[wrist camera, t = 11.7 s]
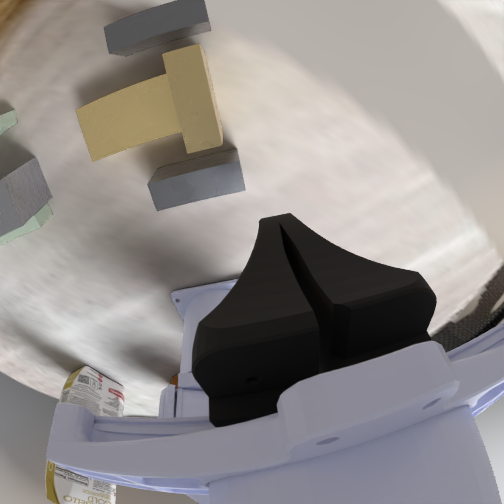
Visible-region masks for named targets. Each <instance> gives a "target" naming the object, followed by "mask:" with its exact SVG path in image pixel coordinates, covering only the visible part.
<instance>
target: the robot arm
mask: <svg viewBox="0 0 504 504" xmlns="http://www.w3.org/2000/svg"><path fill="white" fill-rule="evenodd" d="M171 298H172V300H173V302H174V304H175V306H176V308H177V310H178V312H179V314H180V315H181V317H182V319H183V321H184V328H183V339H182V351H181V364H180V373H179V374H178V389H176V385H172V384H169V385H168V386H167V388H165V389H164V390H162V392H161V397H160V404H159V417H158V418H132V417H111V416H98V415H94V414H93V413H92V412H91V411H90V410H88V409H87V408H85V407H83V406H81V405H77V404H68V403H60V402H59V403H57V406H56V410H55V414H54V419H53V423H52V427H51V432H50V437H49V442H48V448H47V454H46V458H47V460H49V461H51V462H53V463H55V464H57V465H59V466H61V467H64V468H66V469H68V470H70V471H73V472H75V473H78V474H80V475H83V476H85V477H88V478H91V479H95V480H99V481H104V482H108V483H113V484H118V485H123V486H128V487H134V488H140V489H147V490H154V491H161V492H172V493H183V494H186V495H188V496H189V497H191V498H192V499H194V500H195V501H197V504H502V503H501V499H500V495H499V491H498V487H497V484H496V480H495V476H494V473H493V470H492V467H491V464H490V461H489V458H488V455H487V452H486V449H485V446H484V443H483V441H482V438H481V436H480V433H479V430H478V428H477V425H476V423H475V421H474V418H473V417H475V416H476V415H478V414H479V413H481V412H482V411H484V410H485V409H486V408H487V407H489V406H490V405H492V404H493V403H494V402H496V401H497V400H498V399H500V398H501V397H502V396H503V395H504V322H503V323H501V324H500V325H498V326H496V327H495V328H493V329H491V330H489V331H488V332H486V333H484V334H482V335H481V336H479V337H477V338H475V339H473V340H471V341H469V342H468V343H466V344H464V345H462V346H460V347H458V348H456V349H454V350H452V351H450V352H447V353H446V352H445V351H444V349H443V347H442V345H440V344H438V343H437V342H435V341H431V337H430V336H429V334H428V332H427V328H428V326H429V324H430V321H431V319H432V316H433V314H434V311H435V307H436V303H437V301H436V295H435V294H434V292H433V291H432V289H431V288H430V286H429V285H428V283H427V282H426V281H425V279H424V278H423V277H422V276H421V275H420V274H419V272H415V271H410V270H405V269H400V268H395V267H391V266H387V265H384V264H380V263H377V262H374V261H371V260H368V259H366V258H363V257H360V256H358V255H355V254H353V253H351V252H348V251H346V250H344V249H342V248H340V247H338V246H336V245H335V244H333V243H331V242H329V241H328V240H326V239H325V238H323V237H321V236H320V235H318V234H317V233H315V232H314V231H313V230H311V229H310V228H309V227H307V226H306V225H305V224H303V223H302V222H301V221H300V220H298V219H297V218H296V217H295V216H293V215H292V214H291V213H287V214H282V215H277V216H272V217H267V218H262V219H261V220H260V221H259V230H258V235H257V239H256V242H255V245H254V248H253V251H252V253H251V256H250V258H249V260H248V263H247V265H246V267H245V268H244V270H243V272H242V274H241V276H240V277H239V279H235V280H229V281H224V282H219V283H214V284H209V285H203V286H198V287H193V288H187V289H182V290H177V291H173V292H172V293H171ZM177 299H180V300H177Z"/></svg>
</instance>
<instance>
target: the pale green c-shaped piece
mask: <svg viewBox="0 0 504 504" xmlns="http://www.w3.org/2000/svg"><path fill="white" fill-rule="evenodd" d="M17 122H18V120H17V117H16V113H15V110H13V111H10V112H7V113H5V114H2V115H0V135H1V134H3V133H4V132H5V131H7V130H8V129H9V128H10V127H12V126H13V125H15V124H16V123H17ZM52 214H53V213H52V211H51V209H50V206H49V204H48V202H47V203H46V204H45V205H44V206H43V207H41V208H40V209H39V210H38V211H37V212H36V213H35V214H34V215H33V216H32V217H31V219H30V220H29V221H28V222H27V223H26V224H25V225H24V226H22V227H20V228H18V229H15V230H13V231H11V232H9V233H7V234H5V235H3V236H1V237H0V245H2V244H4V243H6V242H8V241H11V240H13V239H15V238H17V237H20V236H22V235H24V234H27V233H29V232H31V231H34V230H36V229H39V228H41V226H42V225H43V224H44V223H45V222H46V221H47V220H48V219H49V218H50V217H51V215H52Z"/></svg>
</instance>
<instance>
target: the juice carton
mask: <svg viewBox="0 0 504 504" xmlns="http://www.w3.org/2000/svg"><path fill="white" fill-rule="evenodd" d="M59 402H60V403H68V404H77V405H81V406H83V407H85V408H87V409H88V410H90V411H91V412H92V413H93V414H94V415H98V416H111V417H123V409H124V387H122V386H121V385H119V384H117V383H115V382H114V381H112V380H110V379H108V378H106V377H105V376H103V375H101V374H100V373H98V372H97V371H95V370H93V369H92V368H90V367H88V366H84V367H82V368H80V369H79V370H77V371H75V372H73V373H72V374H71V375H70V376H69V377H68V379H67V381H66V383H65V385H64V387H63V390H62V393H61V397H60V400H59ZM45 485H46V495H47V498H48V499H49V500H51V501H52V502H54V503H56V504H115V494H116V484H113V483H108V482H104V481H99V480H95V479H91V478H88V477H85V476H83V475H80V474H78V473H75V472H73V471H70V470H68V469H66V468H64V467H61V466H59V465H57V464H55V463H53V462H51V461H49V460H47V465H46V475H45Z"/></svg>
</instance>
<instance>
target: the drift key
mask: <svg viewBox="0 0 504 504" xmlns="http://www.w3.org/2000/svg"><path fill="white" fill-rule="evenodd" d="M162 57H163V61H164V65H165V70H166V74H163V75H160V76H157V77H154V78H151V79H148V80H145V81H142V82H139V83H137V84H134V85H131V86H129V87H126V88H124V89H121V90H119V91H116V92H114V93H111V94H109V95H107V96H104V97H102V98H100V99H98V100H95V101H93V102H91V103H89V104H87V105H85V106H83V107H81V108H79V109H77V110H76V112H77V116H78V119H79V122H80V126H81V129H82V132H83V135H84V138H85V141H86V144H87V147H88V150H89V153H90V156H91V159H92V161H93V162H94V161H96V160H99V159H101V158H104V157H107V156H109V155H112V154H115V153H117V152H120V151H123V150H126V149H128V148H131V147H134V146H137V145H140V144H143V143H146V142H149V141H152V140H156V139H159V138H162V137H165V136H169V135H172V134H176V133H179V132H182V136H183V140H184V143H185V147H186V151H187V154H189V153H193V152H197V151H201V150H205V149H210V148H214V147H218V146H223V130H222V125H221V121H220V116H219V112H218V108H217V103H216V99H215V94H214V90H213V86H212V81H211V77H210V72H209V68H208V63H207V59H206V55H205V51H204V50H203V48H202V47H201V45H200V44H195V45H191V46H187V47H184V48H180V49H177V50H173V51H170V52H166V53H163V54H162Z"/></svg>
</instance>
